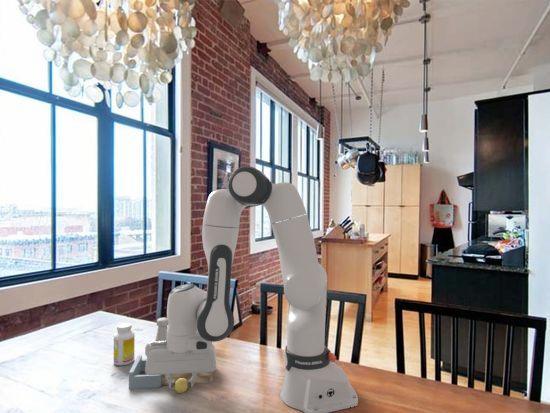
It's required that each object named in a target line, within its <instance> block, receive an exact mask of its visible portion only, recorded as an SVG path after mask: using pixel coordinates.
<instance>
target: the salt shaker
mask: <svg viewBox="0 0 550 413" xmlns="http://www.w3.org/2000/svg"><path fill="white" fill-rule="evenodd" d="M156 326H157V330H156V336H155V340H154V341H156V342H158V341H167V328H168V320H167V317H159V318H157V319H156Z"/></svg>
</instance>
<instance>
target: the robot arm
mask: <svg viewBox="0 0 550 413" xmlns="http://www.w3.org/2000/svg"><path fill="white" fill-rule="evenodd" d="M227 185H228V186H227V187H228V188H227V189H226V188H225V189H224V188H221V189H216V190H213V191H212V192H211V193H210V194H209V195H208V197H207V201H206V205H205V209H204V211H203V212H204V214H203V220H202V229H201V230H202V231H201V237H202V238H201V239H202V241H201V242H202V248H203V253H204V254H205V258H206V262H207V269H208V270H207V271H208V272H207V276H208V277H207V286H206V287H207V288H206V290H204V289H201V288H199V287H198V286H197V285H195V284H192V283H191V284H189V283H187V284H186V283H185V284H181V285H178V286H176V287H174V288H173V289H172V290H171V291H170V292H169V294H168V299H167V306H166V318H167V320H168V325H167V341H158V342H156V341H155V340H154V341H153V340H152V341H151V342H150V343H148V344H146V345H145V347H144V348H145V350H144V352H145V356H146V359H147V360H146V367H145V372H146V374H147V375H163V374H165V378H166V380H167V381H168V383H169V385H168V389H175V388H174V385H175V380H172V378H171V374H180V373H192V378H191V379H188V388H192V387H194V383H193V381H194V379H195V378H196V376H197V373H198V372H213V373H214V371H215V369H217V355H216V349H215V348H216V347H215V346H214V344H213V343H215V342H217V343H218V342H220V341H222V340H224V339H226V338H227V337H229V335H230V334H231V333H233V330H234V326H235V318H234V315H233V312H232V309H231V305H230V295H231V278H232V266H233V262H234V257H235V252H236V248H237V243H238V238H239V231H240V223H241V214H242V212H243V210H244V209H248V208H254V207H258V206H261V205H262V206H263V207H264V208H265V211H266V212H267V214H268V217H269V222H270V224H271V230H272V232H273V236H274V240H275V244H276V246H277V247H276V248H277V251H278V257H279V258H278V259H279V265H280V271H281V278H282V282H283V293H284V296H285V300H286V301H287V302H288V304H289V308H288V315H287V323H286V331H287V332H286V346H285V351H284V367H285V369H284V378H283V382H282V387H281V390H280V393H279V394H280V395H279V396H280V399H281V401H282V402H283V403H284V404H286V405H287V406H288V407H290V408H293V409H296V410H299V411H302V412H303V413H332V412H336V411H341V410H346V409H349V408H350V407H351V408H355V407H357V406H358V405H359V396H358V393H357V392H356V390H355V389H354V387H353V386H352V385H351V384H350V381H349V378H348V375H347V374H346V372H345V371H344V369H343V368H341V367H340V366H339V365H338V364H336V361H337V356H336V355H335V353H334V352H332V351H331V350H330V348H328V347H327V346H326V345H325V338H326V337H325V336H326V315H327V314H326V311H327V295H328V294H327V293H328V292H327V291H328V274H327V271H326V269H325V268H324V267H323V265H322V264H320V263H319V258H318V254H317V249H316V248H317V247H316V243H315V238H314V235H313V231H312V226H311V224H310V220H309V218H308V217H309V216H308V213H307V210H306V207H305V205H304V201H303V199H302V197H301V195H300V192H299V191H298V189H297V187H296V186H295V185H294V184H292V183H290V182H285V181H283V182H277V183H273V182H272V181H270V179H269V177H267V175H266V174H265V173H264V172H262V170H260V169H258V168H256V167H254V166H253V167H252V166H248V165H247V166H241V167H239V168H237V169H235V170H234V171H233V172H231V174H230V175H229V178H228V182H227ZM354 406H355V407H354Z"/></svg>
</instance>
